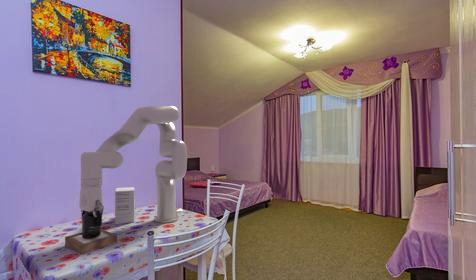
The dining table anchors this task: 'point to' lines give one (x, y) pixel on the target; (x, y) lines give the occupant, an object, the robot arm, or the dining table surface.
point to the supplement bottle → (89, 226)
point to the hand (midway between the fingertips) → (91, 223)
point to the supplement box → (124, 205)
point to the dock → (90, 242)
